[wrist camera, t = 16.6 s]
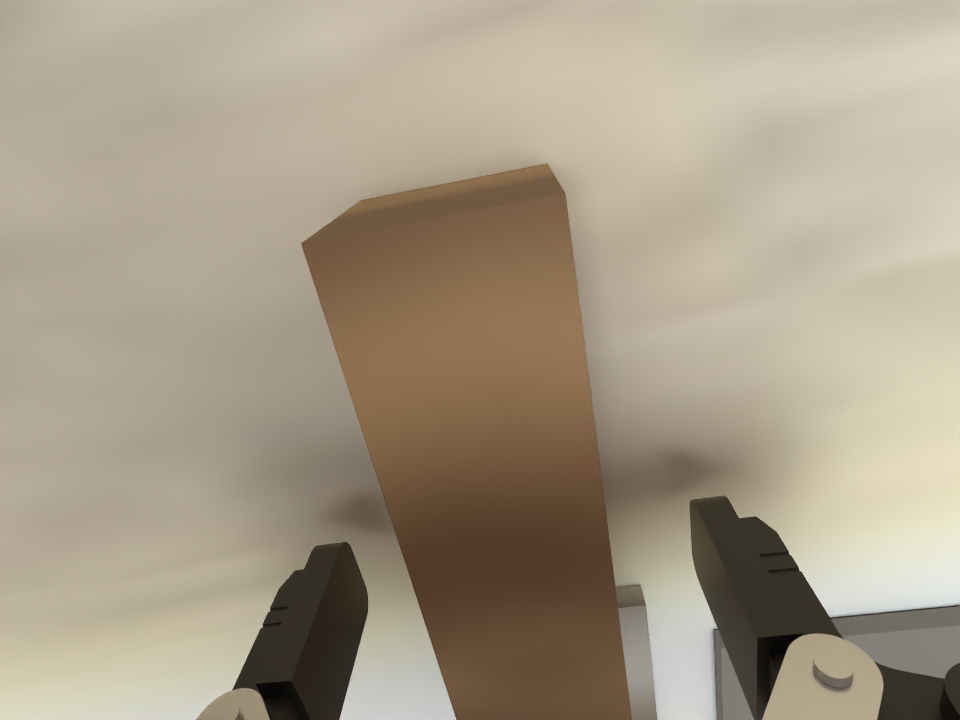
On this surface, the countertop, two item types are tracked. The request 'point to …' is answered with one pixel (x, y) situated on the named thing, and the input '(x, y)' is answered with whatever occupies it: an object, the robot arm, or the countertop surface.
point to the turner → (487, 441)
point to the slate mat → (867, 650)
